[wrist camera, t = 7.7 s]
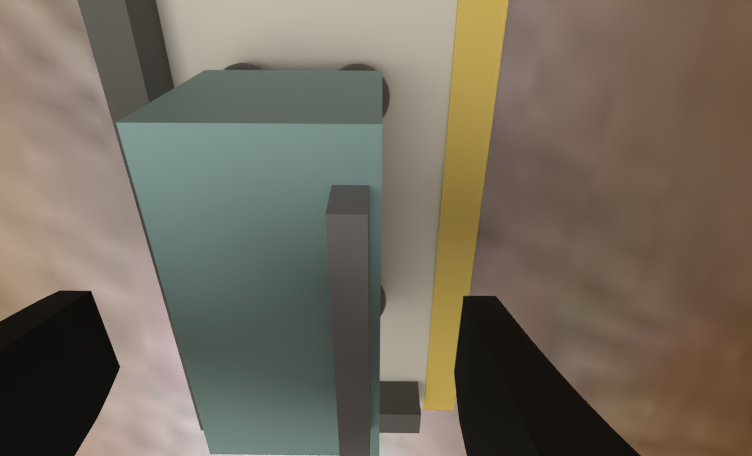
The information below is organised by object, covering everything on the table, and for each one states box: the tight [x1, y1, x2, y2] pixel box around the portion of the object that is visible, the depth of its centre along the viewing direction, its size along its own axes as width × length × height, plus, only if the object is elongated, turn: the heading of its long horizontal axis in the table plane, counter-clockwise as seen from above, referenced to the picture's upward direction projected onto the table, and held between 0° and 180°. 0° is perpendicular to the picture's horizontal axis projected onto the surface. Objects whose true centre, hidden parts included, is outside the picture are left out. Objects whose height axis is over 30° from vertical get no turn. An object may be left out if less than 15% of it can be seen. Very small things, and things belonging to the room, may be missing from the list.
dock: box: [78, 0, 509, 433], centre depth 14 cm, size 10×18×4 cm, turn 0°
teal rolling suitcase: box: [116, 63, 390, 456], centre depth 11 cm, size 4×8×7 cm, turn 0°
